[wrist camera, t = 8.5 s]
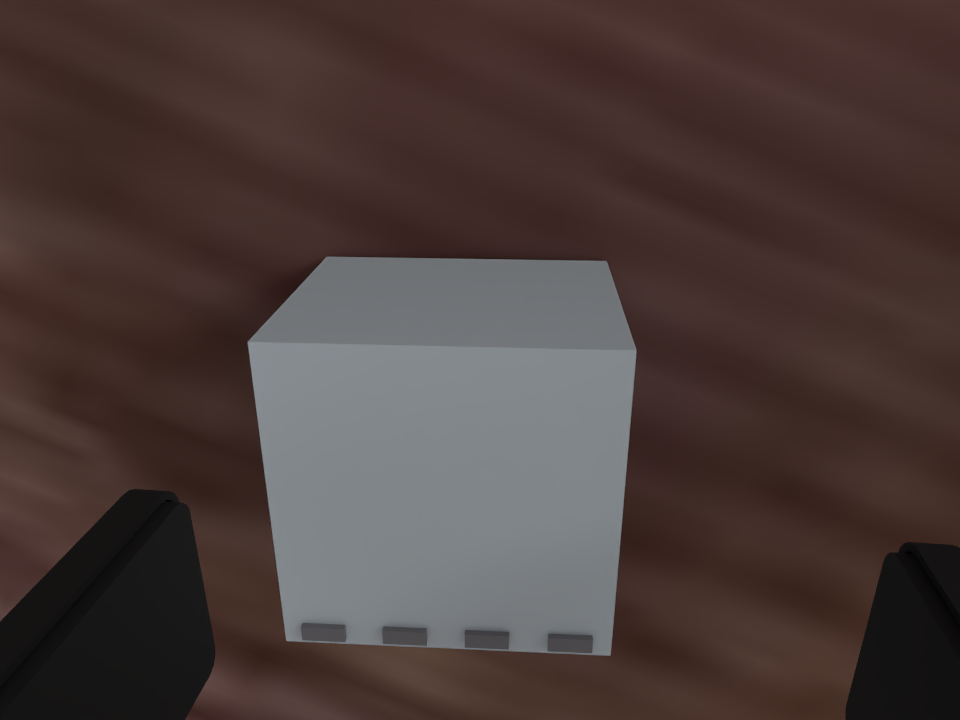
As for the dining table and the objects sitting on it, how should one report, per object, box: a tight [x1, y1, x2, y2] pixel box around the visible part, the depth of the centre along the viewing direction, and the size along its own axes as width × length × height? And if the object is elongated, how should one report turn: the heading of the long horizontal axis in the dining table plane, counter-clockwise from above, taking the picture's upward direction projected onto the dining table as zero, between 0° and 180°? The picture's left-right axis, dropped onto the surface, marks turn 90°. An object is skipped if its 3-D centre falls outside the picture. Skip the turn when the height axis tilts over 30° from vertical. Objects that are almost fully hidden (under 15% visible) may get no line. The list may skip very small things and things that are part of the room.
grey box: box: [248, 257, 637, 656], centre depth 15 cm, size 6×6×5 cm
